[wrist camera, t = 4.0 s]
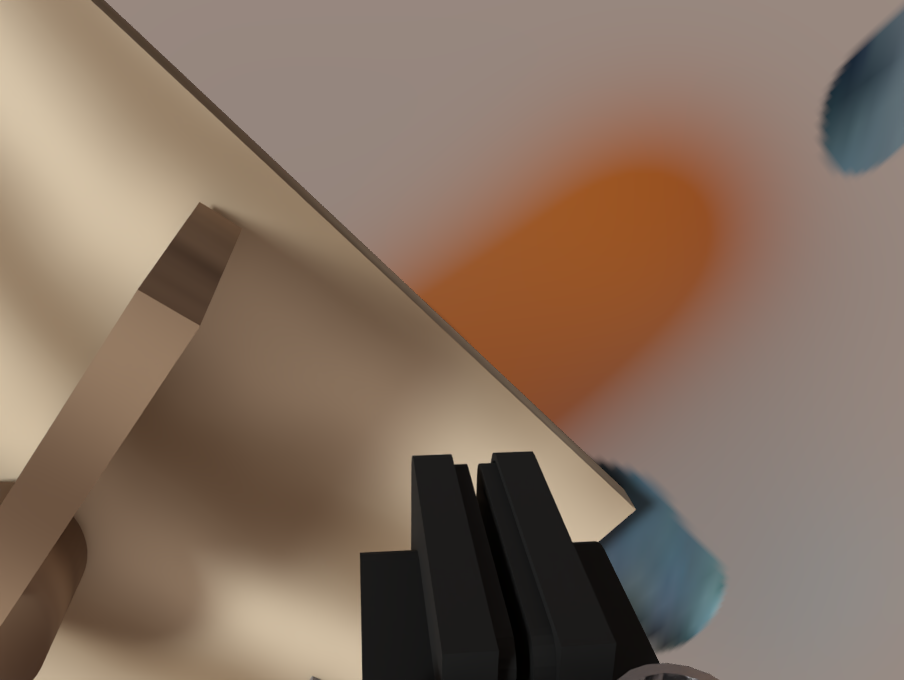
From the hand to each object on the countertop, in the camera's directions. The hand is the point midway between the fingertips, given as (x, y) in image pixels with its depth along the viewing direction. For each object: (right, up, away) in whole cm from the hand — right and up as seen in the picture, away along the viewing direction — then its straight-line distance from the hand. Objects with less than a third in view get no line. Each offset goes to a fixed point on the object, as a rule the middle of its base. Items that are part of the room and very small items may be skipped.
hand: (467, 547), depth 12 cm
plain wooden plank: (-13, -3, +12) cm, 18 cm away
